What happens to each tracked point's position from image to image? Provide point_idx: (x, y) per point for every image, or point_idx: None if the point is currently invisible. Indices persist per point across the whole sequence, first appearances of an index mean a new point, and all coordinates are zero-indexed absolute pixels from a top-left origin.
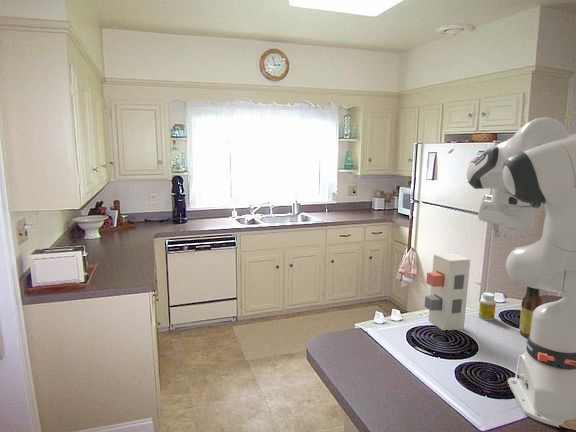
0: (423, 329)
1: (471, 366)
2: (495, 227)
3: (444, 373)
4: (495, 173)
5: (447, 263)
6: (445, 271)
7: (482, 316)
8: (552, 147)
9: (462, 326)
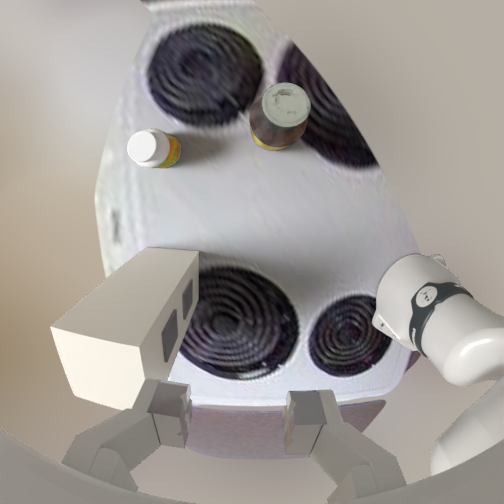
0: None
1: (321, 341)
2: (122, 459)
3: (317, 381)
4: None
5: None
6: None
7: (166, 167)
8: None
9: (198, 256)
